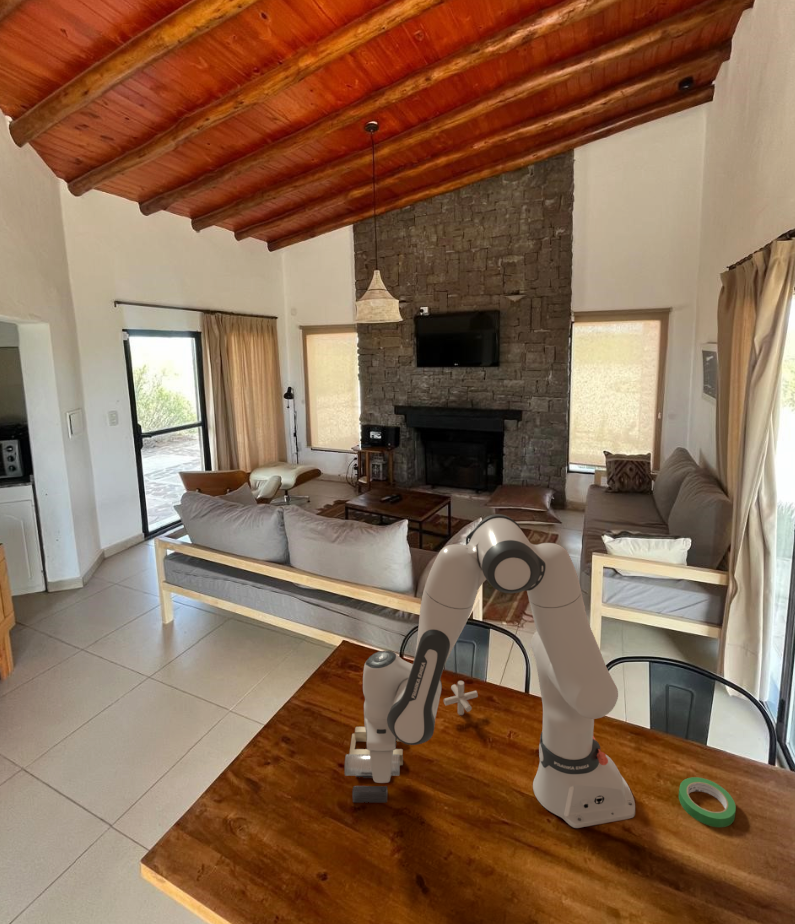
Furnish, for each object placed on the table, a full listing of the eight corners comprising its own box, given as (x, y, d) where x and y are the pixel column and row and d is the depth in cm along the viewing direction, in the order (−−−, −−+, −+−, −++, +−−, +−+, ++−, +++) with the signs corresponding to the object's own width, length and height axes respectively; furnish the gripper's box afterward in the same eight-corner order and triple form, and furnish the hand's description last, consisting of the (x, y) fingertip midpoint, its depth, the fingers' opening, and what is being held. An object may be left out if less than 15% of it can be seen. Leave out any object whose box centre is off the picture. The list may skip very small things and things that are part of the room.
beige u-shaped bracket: (403, 736, 141) (403, 726, 141) (402, 765, 131) (402, 755, 131) (352, 736, 142) (352, 726, 141) (348, 765, 132) (347, 755, 131)
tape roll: (701, 832, 112) (702, 822, 111) (667, 790, 123) (668, 780, 122) (746, 824, 114) (748, 814, 113) (709, 783, 124) (710, 773, 124)
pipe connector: (468, 698, 156) (468, 668, 153) (484, 720, 146) (484, 689, 144) (438, 706, 153) (437, 676, 150) (452, 729, 143) (452, 697, 141)
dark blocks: (388, 768, 131) (388, 758, 130) (386, 802, 121) (386, 791, 120) (357, 768, 131) (356, 758, 130) (352, 802, 121) (352, 791, 120)
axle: (399, 764, 127) (399, 750, 126) (399, 780, 123) (399, 764, 122) (347, 764, 127) (346, 750, 126) (345, 779, 123) (344, 764, 122)
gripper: (372, 688, 132) (374, 734, 135) (365, 750, 112) (368, 802, 115) (397, 688, 131) (398, 734, 134) (395, 750, 111) (396, 803, 115)
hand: (384, 766), depth 124 cm, fingers closed on axle, 4 cm apart
